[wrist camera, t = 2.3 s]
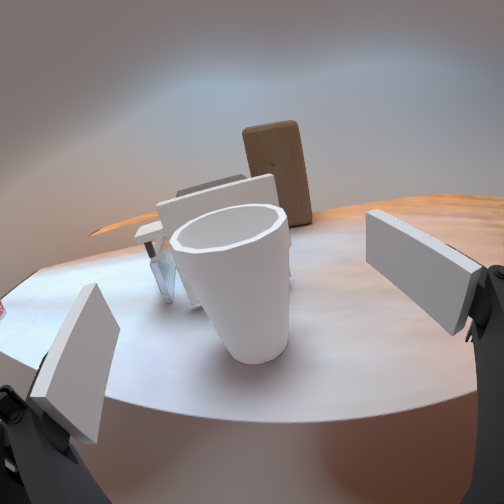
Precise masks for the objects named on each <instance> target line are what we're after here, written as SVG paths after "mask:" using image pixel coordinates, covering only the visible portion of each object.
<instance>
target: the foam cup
mask: <svg viewBox="0 0 504 504" xmlns="http://www.w3.org/2000/svg"><path fill="white" fill-rule="evenodd" d="M169 243H170V246H171V249H172V251H173V254H174V257H175V260H176V263H177V265H178V268H179V269H180V271H181V272H182V274H183V276H184V277H185V278H187V280H188V282H189V284H190V285H191V287H192V289H193V291H194V293H195V295H196V296H197V298H198V300H199V302H200V304H201V305H202V307H203V309H204V311H205V312H206V314H207V316H208V318H209V319H210V321H211V323H212V325H213V326H214V328H215V330H216V331H217V333H218V335H219V336H220V338H221V340H222V341H223V343H224V345H225V346H226V348H227V349H228V351H229V352H230V354H231V355H232V357H233V358H234V359H235V360H237V361H240V362H242V363H244V364H262V363H265V362H268V361H271V360H273V359H275V358H276V357H277V356H278V355H280V354H281V353H282V352H283V351H284V350H285V347H286V345H287V343H288V336H289V248H290V246H291V239H290V233H289V226H288V220H287V216H286V214H285V212H284V210H283V208H280V207H277V206H273V205H270V204H245V205H238V206H232V207H227V208H223V209H220V210H216V211H213V212H210V213H207V214H204V215H202V216H200V217H198V218H195V219H193V220H191V221H189V222H187V223H186V224H185V225H183V226H182V227H180V228H179V229H178V230H176V231H175V232H174V234H173V236H172V237H171V239H170V241H169Z"/></svg>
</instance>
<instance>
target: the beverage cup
mask: <svg viewBox="0 0 504 504" xmlns="http://www.w3.org/2000/svg"><path fill="white" fill-rule="evenodd" d="M6 313H7V312H6V310H5V308H4V306H3V305H2V303H1V301H0V320H2V319H3V318H4V317H5V315H6Z"/></svg>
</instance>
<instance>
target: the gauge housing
mask: <svg viewBox="0 0 504 504" xmlns="http://www.w3.org/2000/svg"><path fill="white" fill-rule="evenodd" d="M244 179H248V178H246V177H245V176H244V175H242V174H240V175H236V176H232V177H228V178H224V179H220V180H216V181H212V182H209V183H205V184H201V185H198V186H194V187H190V188H187V189H183V190H180V191H178V192H177V195H176V198H177V197H180V196H184V195H187V194H191V193H194V192H198V191H201V190H205V189H209V188H212V187H216V186H220V185H224V184H228V183H232V182H236V181H240V180H244ZM154 250H155V253H156V256H155V257H153V258H151V262H150V266H151V269H152V271H153V274H154V276H155V279H156V281H157V283H158V286H159V288H160V290H161V293H162V295H163V296H164V299H165V301H166V303H170V302H173V297H174V283H175V272H176V264H175V261H174V258H173V255H172V253H171V250H170V247H169V244H168V241H167V238H166V236H165V237H162V238H159V239H157V242H156V245H155V248H154Z"/></svg>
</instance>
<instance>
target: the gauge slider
mask: <svg viewBox="0 0 504 504" xmlns="http://www.w3.org/2000/svg"><path fill="white" fill-rule="evenodd" d="M245 204H270V205H273V206H277V207H279V201H278V196H277V190H276V185H275V179H274V175H272V174H265V175H261V176H256V177H252V178H248V179H244V180H240V181H236V182H232V183H228V184H224V185H220V186H216V187H212V188H209V189H205V190H201V191H198V192H194V193H191V194H187V195H184V196H180V197H177V198H174V199H171V200H167V201H164V202H161V203H158V204H157V206H156V208H157V211H158V214H159V217H160V221H157V222H153V223H151V224H147V225H144V226H141V227H140V228H139V230H138V231H137V233H136V235H135V237H134V238H135V241H136V243H137V245H139V244H142V243H144V244H145V247H146V250H147V252H148V255H149V257H150V258H153V257H155V256H156V253H155V250H154V248H153V245H152V242H151V241H152V240H155V239H159V238H162V237H165V236H166V238H167V241H168V244H169V247H170V250H171V253H172V255H173V258H174V261H175V264H176V266H177V269H178V272H179V274H180V277H181V280H182V282H183V285H184V288H185V290H186V293H187V295H188V298H189V300H190V303H191V305H194V304H198V303H200V302H199V300H198V298H197V296H196V295H195V293H194V291H193V289H192V287H191V285H190V284H189V282H188V280H187V278H185V277H184V276H183V274H182V272H181V271H180V269H179V268H178V265H177V263H176V260H175V257H174V254H173V251H172V249H171V246H170V243H169V241H170V239H171V237H172V236H173V234H174V232H175V231H176V230H178V229H179V228H180V227H182V226H183V225H185V224H186V223H187V222H189V221H191V220H193V219H195V218H198V217H200V216H202V215H204V214H207V213H210V212H213V211H216V210H220V209H223V208H227V207H232V206H238V205H245ZM289 277H291V274H290V267H289Z"/></svg>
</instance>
